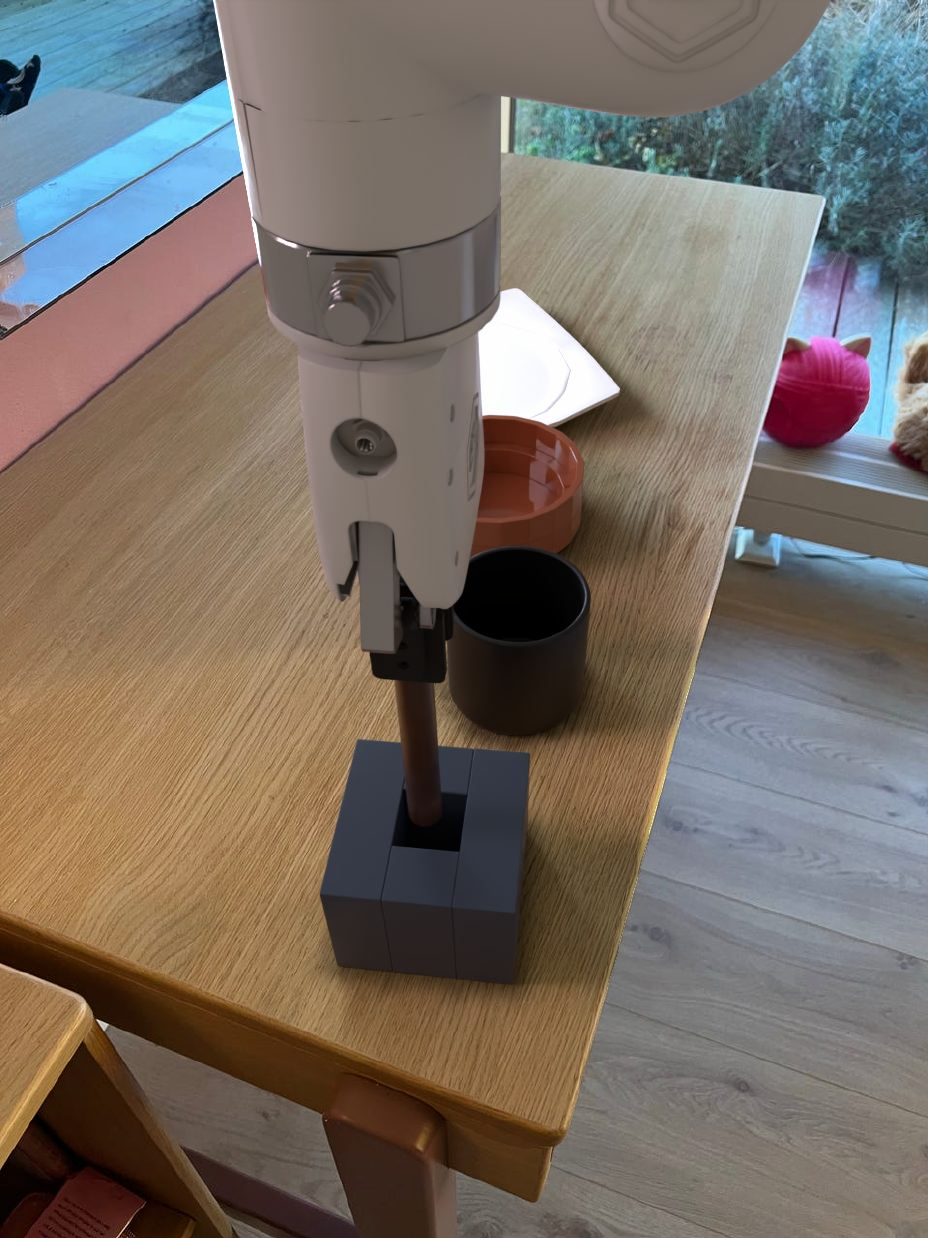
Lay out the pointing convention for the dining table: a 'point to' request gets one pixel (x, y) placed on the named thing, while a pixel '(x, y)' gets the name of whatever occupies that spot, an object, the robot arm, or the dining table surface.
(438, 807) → the stick
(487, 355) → the plate
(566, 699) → the mug
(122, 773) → the dining table surface
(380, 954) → the holder
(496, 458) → the bowl
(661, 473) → the dining table surface
